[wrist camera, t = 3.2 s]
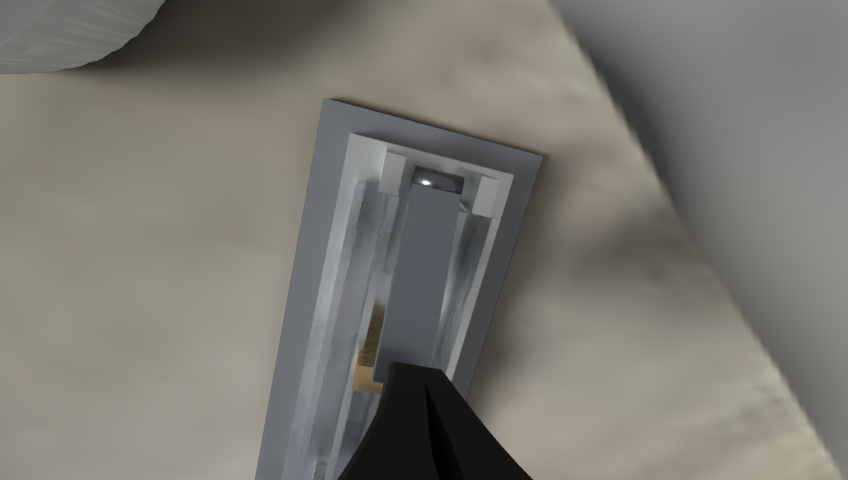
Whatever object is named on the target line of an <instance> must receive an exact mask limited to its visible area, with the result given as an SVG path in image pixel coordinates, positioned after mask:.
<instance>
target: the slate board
mask: <svg viewBox="0 0 848 480" xmlns="http://www.w3.org/2000/svg"><path fill="white" fill-rule="evenodd" d="M350 133H354V134H358V135H362V136H366V137H370V138H373V139H377V140H381V141H385V142H389V143H393V144H397V145H401V146H405V147H409V148H413V149H416V150H420V151H424V152H428V153H432V154H436V155H440V156H444V157H448V158H452V159H456V160H459V161H463V162H467V163H471V164H475V165H479V166H483V167H487V168H491V169H495V170H499V171H502V172H506V173H509V174H512V175H514V177H513V180H512V184H511V187H510V190H509V194H508V197H507V200H506V203H505V207H504V210H503V213H502V217H501V220H500V223H499V227H498V230H497V233H496V236H495V240H494V243H493V246H492V250H491V253H490V256H489V259H488V263H487V266H486V269H485V273H484V276H483V279H482V283H481V286H480V289H479V292H478V296H477V299H476V302H475V306H474V309H473V312H472V316H471V319H470V322H469V325H468V329H467V332H466V335H465V339H464V342H463V345H462V348H461V352H460V355H459V358H458V362H457V365H456V368H455V372H454V375H453V378H452V381H451V382H452V384H453V385H454V386H455V388H456V389H457V391H458V392H459V393H460V395H461V396H462V397H463V399H464V400H465V401H466V398H467V395H468V392H469V389H470V385H471V382H472V379H473V376H474V373H475V370H476V366H477V363H478V360H479V357H480V354H481V351H482V348H483V344H484V341H485V338H486V335H487V332H488V329H489V326H490V322H491V319H492V316H493V313H494V310H495V307H496V303H497V300H498V297H499V294H500V291H501V288H502V285H503V281H504V278H505V275H506V272H507V269H508V266H509V263H510V259H511V256H512V253H513V250H514V247H515V244H516V240H517V237H518V234H519V231H520V228H521V225H522V222H523V218H524V215H525V212H526V209H527V206H528V203H529V200H530V196H531V193H532V190H533V187H534V184H535V181H536V177H537V174H538V171H539V168H540V165H541V162H542V159H543V156H540V155H537V154H533V153H529V152H525V151H522V150H518V149H514V148H510V147H507V146H503V145H499V144H495V143H492V142H488V141H484V140H480V139H477V138H473V137H469V136H465V135H462V134H458V133H454V132H450V131H447V130H443V129H439V128H435V127H432V126H428V125H424V124H420V123H417V122H413V121H409V120H405V119H402V118H398V117H394V116H390V115H387V114H383V113H379V112H375V111H372V110H368V109H364V108H360V107H356V106H353V105H349V104H345V103H341V102H338V101H334V100H330V99H326V98H323V104H322V109H321V115H320V120H319V126H318V132H317V137H316V143H315V148H314V154H313V159H312V165H311V170H310V176H309V182H308V187H307V193H306V198H305V204H304V209H303V215H302V220H301V226H300V232H299V237H298V243H297V248H296V254H295V259H294V265H293V270H292V276H291V282H290V287H289V293H288V298H287V304H286V309H285V315H284V320H283V326H282V332H281V337H280V343H279V348H278V354H277V359H276V365H275V371H274V376H273V382H272V387H271V393H270V398H269V404H268V409H267V415H266V421H265V426H264V432H263V437H262V443H261V448H260V454H259V459H258V465H257V471H256V476H255V480H281V478H282V473H283V467H284V462H285V457H286V452H287V447H288V442H289V437H290V432H291V427H292V422H293V417H294V412H295V407H296V402H297V397H298V392H299V387H300V382H301V377H302V372H303V367H304V362H305V357H306V352H307V347H308V342H309V337H310V332H311V327H312V322H313V317H314V312H315V307H316V302H317V297H318V292H319V287H320V282H321V277H322V272H323V267H324V262H325V257H326V252H327V247H328V242H329V237H330V232H331V227H332V222H333V217H334V212H335V207H336V202H337V197H338V192H339V187H340V182H341V177H342V172H343V167H344V162H345V157H346V152H347V146H348V141H349V136H350Z"/></svg>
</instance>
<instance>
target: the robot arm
mask: <svg viewBox="0 0 848 480" xmlns="http://www.w3.org/2000/svg"><path fill="white" fill-rule="evenodd" d="M337 480H533V479H532V478H531V477H530V476H529V475H528V474H527V473H526V472H525V471H524V470H523V469H522V468H521V467H520V466H519V465H518V464H517V463H516V462H515V460H514V459H513V458H512V457H511V456H510V455H509V454H508V453H507V451H506V450H505V449H504V448H503V447H502V446H501V445H500V444H499V442H498V441H497V440H496V439H495V438H494V437H493V435H492V434H491V433H490V432H489V431H488V429H487V428H486V427H485V426H484V424H483V423H482V422H481V421H480V419H479V418H478V417H477V416H476V414H475V413H474V412H473V410H472V409H471V408H470V407H469V405H468V404H467V403H466V401H465V400H464V399H463V397H462V396H461V395H460V393H459V392H458V391H457V389H456V388H455V386H454V385H453V384H452V382H451V381H450V380H449V378H448V377H447V376H446V374H445V373H444V372H443V371H442V369H436V368H430V367H425V366H419V365H413V364H407V363H401V362H395V361H394V362H392V363H390V364H389V365H388V368H387V372H386V376H385V380H384V384H383V388H382V392H381V395H380V399H379V403H378V407H377V411H376V414H375V416H374V418H373V420H372V422H371V424H370V426H369V428H368V430H367V432H366V434H365V436H364V438H363V439H362V441H361V443H360V445H359V446H358V448H357V450H356V451H355V453H354V455H353V456H352V458H351V459H350V461H349V462H348V464H347V466H346V467H345V469H344V470H343V472H342V473H341V475H340V476H339V477H338V479H337Z"/></svg>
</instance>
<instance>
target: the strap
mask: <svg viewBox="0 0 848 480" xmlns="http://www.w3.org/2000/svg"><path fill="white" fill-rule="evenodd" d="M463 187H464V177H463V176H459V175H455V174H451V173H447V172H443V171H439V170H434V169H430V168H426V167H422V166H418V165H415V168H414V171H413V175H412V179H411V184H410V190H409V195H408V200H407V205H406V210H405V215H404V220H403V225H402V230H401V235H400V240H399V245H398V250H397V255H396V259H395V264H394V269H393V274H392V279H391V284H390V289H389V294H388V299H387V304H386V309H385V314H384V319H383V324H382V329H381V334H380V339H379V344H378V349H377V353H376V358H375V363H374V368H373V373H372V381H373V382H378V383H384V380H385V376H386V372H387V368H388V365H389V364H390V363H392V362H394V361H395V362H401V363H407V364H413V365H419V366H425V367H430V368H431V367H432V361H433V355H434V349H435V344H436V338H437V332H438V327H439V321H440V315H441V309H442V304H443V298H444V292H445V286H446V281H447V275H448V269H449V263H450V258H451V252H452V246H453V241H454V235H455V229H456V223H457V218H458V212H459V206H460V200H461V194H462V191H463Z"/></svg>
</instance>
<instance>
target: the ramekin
mask: <svg viewBox="0 0 848 480" xmlns="http://www.w3.org/2000/svg"><path fill="white" fill-rule="evenodd" d="M164 2H165V0H0V74H27V73H45V72H55V71H59V70H62V69H69V68H76V67H80V66H83V65H85V64H87V63H89V62H93V61H98V60H100V59H102V58H104V57H105V56H107V55H108V54H109V53H111V52H113V51H116V50H118V49H120V48H122V47H123V46H124V45H125V44H126V43H127V42H128V41H129V40H130V39H132V38H134V37H136V36H137V35H139V33H140V32H141V31H142V29H143V28H144V26H145V25H146V24H147V23H149V22H150V21H151V20H153V18H154V17H155V15H156V13H157V11H158V9H159V8H160V7H161V5H162V4H163V3H164Z"/></svg>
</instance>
